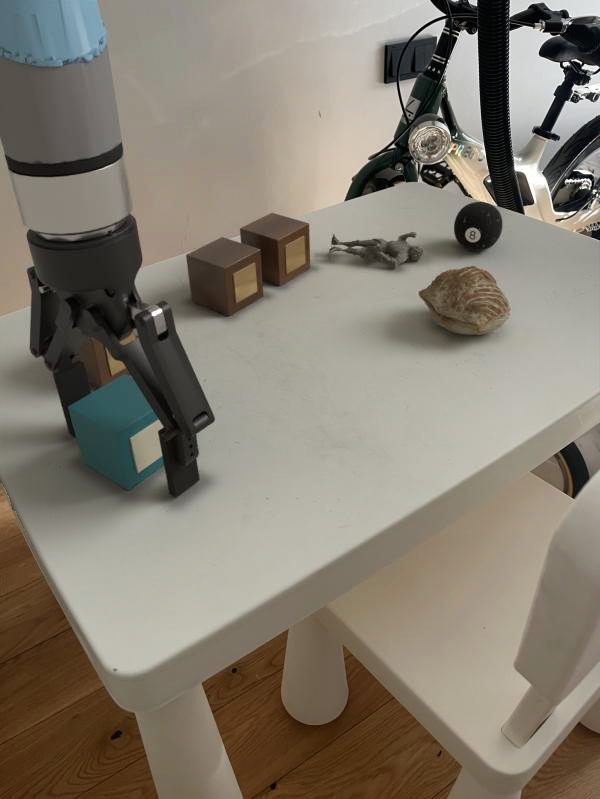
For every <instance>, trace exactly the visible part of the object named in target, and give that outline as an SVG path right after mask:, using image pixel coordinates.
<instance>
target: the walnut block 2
mask: <svg viewBox="0 0 600 799" xmlns="http://www.w3.org/2000/svg"><path fill="white" fill-rule="evenodd" d="M185 259H186V266H187V267H186V268H187V274H188V275H187V276H188V281H189V289H190V297H191V302H192V303H194V304H197V305H199V306H202V307H204V308H207V309H209V310H212V311H215V312H217V313H219V314H222V315H224V316H227V317H230V316H232V315H234V314H236V313H237V312H239V311H241V310H243V309H244V308H246V307H247V306H249V305H251V304H253V303H254V302H256V301H258V300H259V299H261V298H262V297H264V284H263V281H264V280H262V266H261V251H260V249H258V248H255V247H252V246H249V245H246V244H242V243H241V242H239V241H236V240H233V239H229V238H227V237H223V236H221V237H219V238H217V239H215V240H213V241H211V242H209V243H207V244H205V245H203V246H201V247H198V248H197V249H195V250H192V251H191V252H189V253H187V254H185Z"/></svg>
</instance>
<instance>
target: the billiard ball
mask: <svg viewBox="0 0 600 799" xmlns="http://www.w3.org/2000/svg"><path fill="white" fill-rule="evenodd" d="M453 232H454V237H455V239H456V241H457V242H458V244H459V245H461V247H463V248H465V249H467V250H470V251H475V252H477V251H479V252H480V251H485V250H488V249H490V248H491V247H493V246H494V245H495V244H496V243H497V241H499V239H500V237H501V234H502V232H503V217H502V214H501V213H500V211H499V209H498V208H497V207H495V205H493V204H491V203H488V202H485V201H473V202H470V203H467V204H466V205H464V206H463V207H462V208H461V209H460V210H459V212H458V213H457V215H456V217H455V219H454V224H453Z"/></svg>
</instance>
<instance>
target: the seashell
mask: <svg viewBox="0 0 600 799" xmlns="http://www.w3.org/2000/svg"><path fill="white" fill-rule="evenodd" d="M418 296H419V298H420V299H421V300H422V301H423V302H424V304H425V306H426V307H427V308H428V309H429V311H430V313H431V316H432V320H433V321H434V323H435V324H436V325H437V326H439V327H443V328H444V329H446V330H448V331H449V332H452V333H455V334H460V335H468V336H472V335H477V336H478V335H479V336H480V335H485V334H489V333H491V332H494V331H496V330H498V329H499V328H501V327H503V325H504V324H505V323H506V322H507V321H508V320H509V319H510V315H511V307H510V303H509V300H508V298H507V297H506V296H505V293H504V292H503V291H502V290H501V289H500V287H499V286H498V284H497V280H496V279H495V277H494V276H493V274H491V273H490V272H489V271H488V270H485V269H483V268H479V267H477V266H476V265H471V266H464V267H461V268H459V269H458V268H454V269H452V268H451V269H447V270H445V271H442V272H440V273H439V274H438V275H437V276H436V277H435V278H434V279H433V280H432V281H431V283H430V284H429V285H428V286H427V287H426V288H424V289H421V290H419V291H418Z"/></svg>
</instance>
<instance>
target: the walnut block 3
mask: <svg viewBox="0 0 600 799" xmlns="http://www.w3.org/2000/svg"><path fill="white" fill-rule="evenodd" d="M239 236H240V243H242V244H246V245H249V246H252V247H255V248H258V249H260V251H261V266H262V281H264V282H266V283H270V284H272V285H276V286H278V287H281V286H283V285H285V284H287V283H288V282H289V281H291V280H293V279H294V278H296V277H298V276H300V275H301V274H303V273H305V272H306V271H308V270H310V269H311V243H310V242H311V241H310V240H311V239H310V237H311V236H310V223H309V222H306V221H303V220H299V219H296V218H292V217H288V216H285V215H281V214H277V213H275V212H270V213H268V214H266V215H264V216H262V217H260V218H258V219H256V220H254V221H252V222H250V223H248V224H246V225H243V226H242V227H240V228H239Z"/></svg>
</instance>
